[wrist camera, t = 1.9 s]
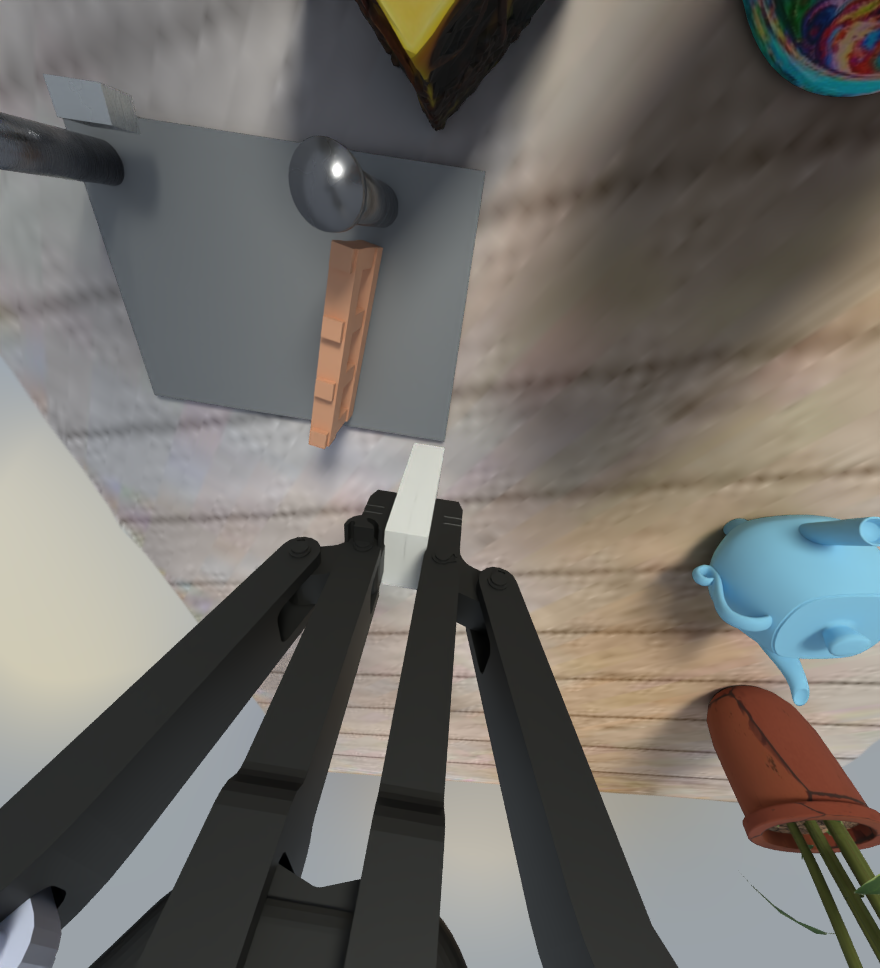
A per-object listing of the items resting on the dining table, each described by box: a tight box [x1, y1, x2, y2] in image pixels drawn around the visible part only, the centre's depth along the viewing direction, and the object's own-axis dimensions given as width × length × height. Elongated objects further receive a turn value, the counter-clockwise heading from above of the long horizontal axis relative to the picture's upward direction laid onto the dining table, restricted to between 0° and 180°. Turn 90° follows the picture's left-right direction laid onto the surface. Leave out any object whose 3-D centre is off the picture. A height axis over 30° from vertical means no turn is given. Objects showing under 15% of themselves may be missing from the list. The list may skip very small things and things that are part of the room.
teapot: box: [692, 515, 880, 706], centre depth 32 cm, size 15×14×11 cm
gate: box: [309, 240, 383, 449], centre depth 26 cm, size 13×2×6 cm, turn 163°
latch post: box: [0, 74, 141, 186], centre depth 20 cm, size 5×6×11 cm
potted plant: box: [707, 686, 880, 968], centre depth 37 cm, size 17×16×35 cm
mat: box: [63, 117, 485, 441], centre depth 28 cm, size 19×27×1 cm
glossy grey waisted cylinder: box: [288, 136, 398, 233], centre depth 20 cm, size 3×3×11 cm
